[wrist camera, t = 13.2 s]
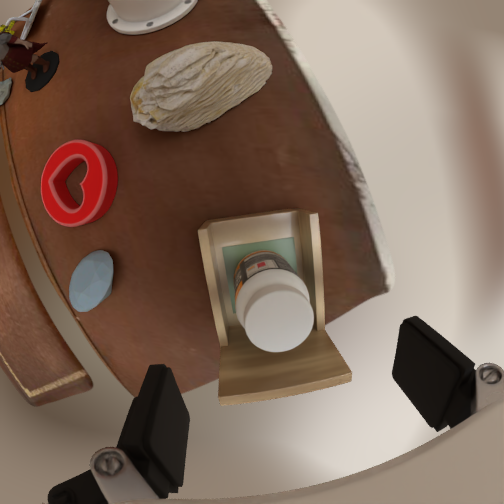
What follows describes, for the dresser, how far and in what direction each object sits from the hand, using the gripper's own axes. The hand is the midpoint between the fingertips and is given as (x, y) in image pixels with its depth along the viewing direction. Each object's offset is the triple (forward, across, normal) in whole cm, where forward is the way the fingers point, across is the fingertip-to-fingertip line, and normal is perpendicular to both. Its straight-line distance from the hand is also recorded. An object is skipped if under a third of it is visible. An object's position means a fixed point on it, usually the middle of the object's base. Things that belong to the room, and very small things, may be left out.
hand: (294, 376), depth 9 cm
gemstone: (+21, +18, 0) cm, 28 cm away
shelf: (+21, -1, +2) cm, 21 cm away
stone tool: (+21, +35, -34) cm, 53 cm away
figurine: (+22, +26, -30) cm, 45 cm away
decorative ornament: (+21, +18, -11) cm, 30 cm away
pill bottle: (+18, -1, +2) cm, 18 cm away
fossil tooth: (+21, +2, -18) cm, 28 cm away
